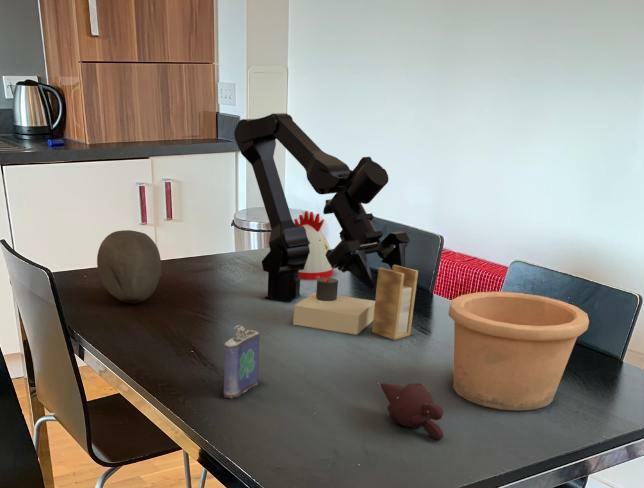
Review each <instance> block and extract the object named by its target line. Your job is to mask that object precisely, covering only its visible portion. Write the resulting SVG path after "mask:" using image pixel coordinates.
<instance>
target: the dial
mask: <svg viewBox="0 0 644 488" xmlns="http://www.w3.org/2000/svg"><path fill="white" fill-rule="evenodd" d="M338 287H339V280H338V279H337V278H334V277H328V278H319V279H316V291H315V292H316V298H317V299H319V300H323V301H333V300H336V299H337V295H338Z"/></svg>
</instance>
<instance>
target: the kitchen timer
mask: <svg viewBox="0 0 644 488" xmlns="http://www.w3.org/2000/svg"><path fill="white" fill-rule="evenodd" d="M298 219H299V220H298ZM298 219H297V218H294V221H293V222H294V223H295V224H296V226H297V227H300V226H304V228H305V230H306V235H307V238H308V240H309V242H310V244H308V245H309V249H310V254H309V255H308V259H307V261H306V264H305V267H304V270H299V274H298V277H299V278H300V280H317V279H319V278H331V277H332V276H333V274H334V269H333V268H332V267H331V265H330V264H329V262H328V260H327V258H326V253H327V250H330V249H331V248H330V245H329V242H328V240H327V238H326V236H325V234H323V232H322V230H321V229H322V227H323V224H324V222H325V219H324V218H323V219H322V220H320V213H316V215H315V218H314V212H313V211H310V212H308V210H305V211H304V216H303V214H299V215H298Z"/></svg>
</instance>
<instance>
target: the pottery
mask: <svg viewBox="0 0 644 488" xmlns="http://www.w3.org/2000/svg"><path fill="white" fill-rule="evenodd" d="M448 308H449V309H448V316H449V317H450V318H451V319H452V321H453V322H454V327H453V328H454V331H453V332H454V333H453V334H454V337H453V338H454V339H453V340H454V341H453V385H452V388H453V390H454V391H455V392H456V394H457V395H458V396H459V397H461V398H463V399H465V400H466V401H467V402H469V403H472V404H475V405H478V406H481V407H484V408H490V409H494V410H499V411H511V412H525V411H536V410H539V409H542V408H546V407H547V406H549V405H550V404H551V403H552V402H554V398H555V396H556V393H557V390H558V387H559V385H560V382H561V380H562V377H563V375H564V372H565V370H566V368H567V364H568V362H569V360H570V357H571V355H572V352H573V349H574V346H575V344H576V341H577V339H578V337H580V336H581V335H583V334H584V333H585V332H586V331H587V330H588V329H589V325H590V319H589V316H588V313H587V312H585V311H584V310H582V309H581V308H579V307H578V306H576V305H573V304H570V303H568V302H565V301H562V300H561V299H556V298H552V297H551V298H550V297H547V296H542V295H537V294H530V293H522V292H513V291H478V292H477V291H476V292H472V293H466V294H461V295H459V296H457V297H455V298H453V299H451V301H450V304H449V306H448Z"/></svg>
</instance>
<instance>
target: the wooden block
mask: <svg viewBox="0 0 644 488" xmlns="http://www.w3.org/2000/svg"><path fill="white" fill-rule="evenodd" d="M316 292H317V291H315V292H313V293H311V294H307V295H306V296H307V297H305V298H303V299H302V300H300V301H299V302H297V303H296V304H294V305H293V321H292V322H293V323H292V324H293V325H295V326H301V327H307V328H313V329H318V330H324V331H330V332H337V333H343V334H344V333H345V334H349V335H355V336H356V335H357V336H358V335H359V334H360V333H362V331H363V330H364V329H366V327H368V326H369V325H370V324H371V323H373V318H374V308H375V300H372V299H364V298H357V297H351V296H344V295H339V294H337V299H336V300H333V301H323V300H319V299H317V298H316Z"/></svg>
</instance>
